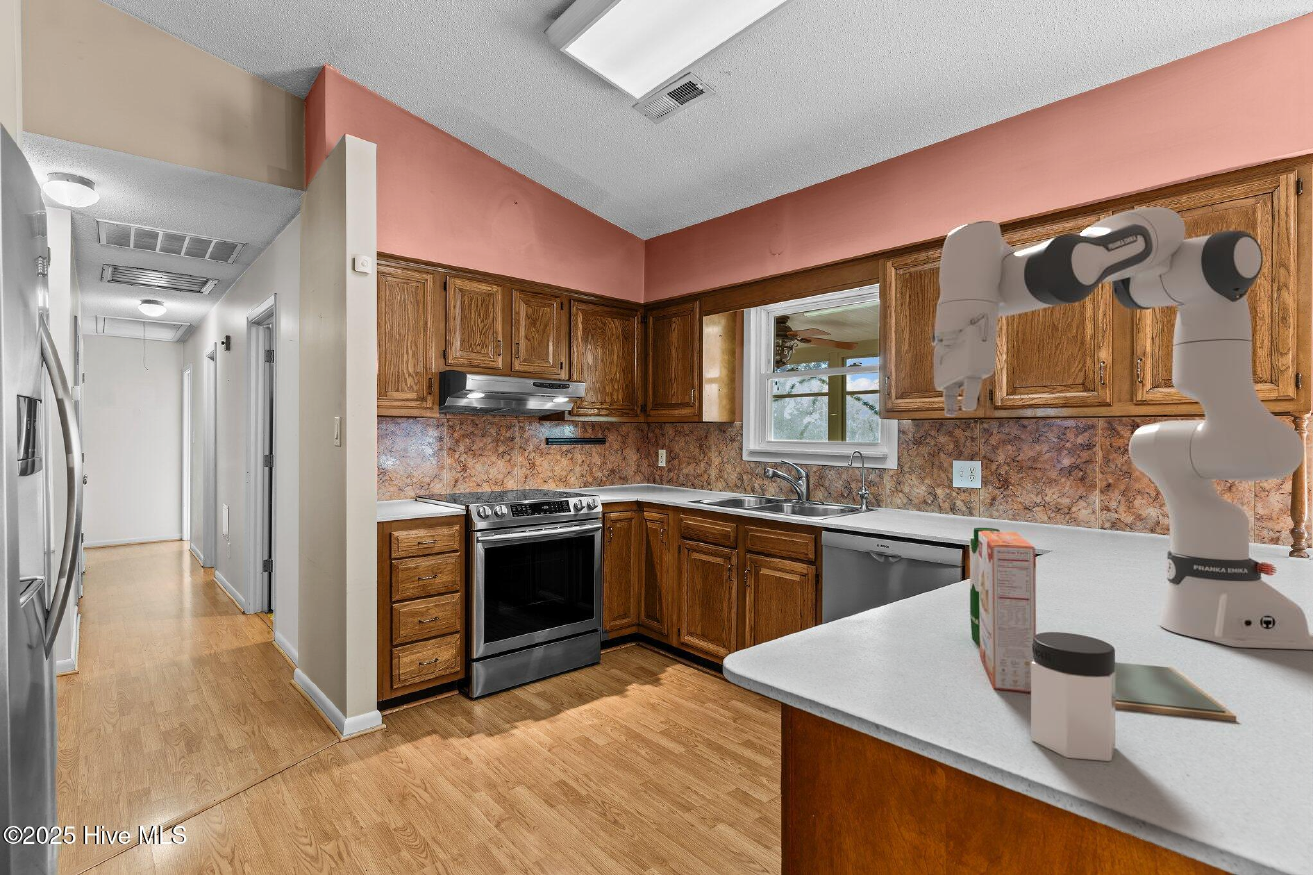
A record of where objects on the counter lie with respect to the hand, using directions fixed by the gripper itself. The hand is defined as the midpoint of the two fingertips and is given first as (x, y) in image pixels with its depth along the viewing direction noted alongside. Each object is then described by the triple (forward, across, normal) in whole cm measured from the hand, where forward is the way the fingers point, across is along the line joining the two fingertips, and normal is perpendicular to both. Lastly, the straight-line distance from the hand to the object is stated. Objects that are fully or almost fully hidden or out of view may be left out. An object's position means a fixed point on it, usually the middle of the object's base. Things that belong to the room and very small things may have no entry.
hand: (959, 413), depth 101 cm
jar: (+41, -22, -9) cm, 47 cm away
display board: (+38, -2, -24) cm, 45 cm away
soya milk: (+38, +15, -13) cm, 43 cm away
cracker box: (+39, 0, -9) cm, 40 cm away
